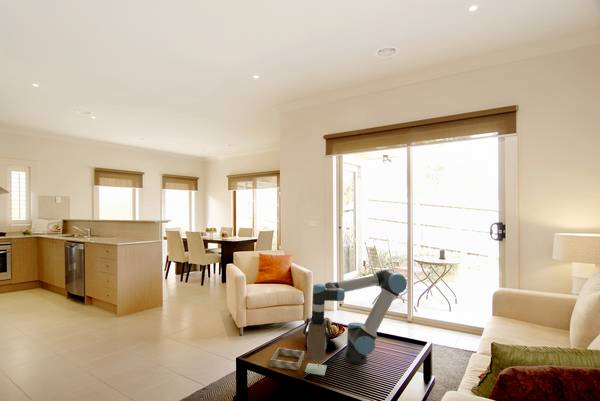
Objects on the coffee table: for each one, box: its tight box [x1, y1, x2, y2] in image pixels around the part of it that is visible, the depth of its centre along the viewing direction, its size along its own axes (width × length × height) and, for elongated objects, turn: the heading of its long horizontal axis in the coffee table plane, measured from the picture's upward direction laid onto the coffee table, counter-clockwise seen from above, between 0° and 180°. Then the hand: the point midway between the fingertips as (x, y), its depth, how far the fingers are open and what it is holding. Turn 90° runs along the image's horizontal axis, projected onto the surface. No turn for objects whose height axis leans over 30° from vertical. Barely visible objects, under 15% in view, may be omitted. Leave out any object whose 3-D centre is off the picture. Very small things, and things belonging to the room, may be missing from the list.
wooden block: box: [306, 320, 327, 361], centre depth 202 cm, size 10×10×20 cm
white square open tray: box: [269, 347, 305, 371], centre depth 210 cm, size 18×18×4 cm
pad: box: [304, 362, 328, 376], centre depth 202 cm, size 12×12×1 cm
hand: (316, 346), depth 202 cm, fingers closed on wooden block, 10 cm apart
